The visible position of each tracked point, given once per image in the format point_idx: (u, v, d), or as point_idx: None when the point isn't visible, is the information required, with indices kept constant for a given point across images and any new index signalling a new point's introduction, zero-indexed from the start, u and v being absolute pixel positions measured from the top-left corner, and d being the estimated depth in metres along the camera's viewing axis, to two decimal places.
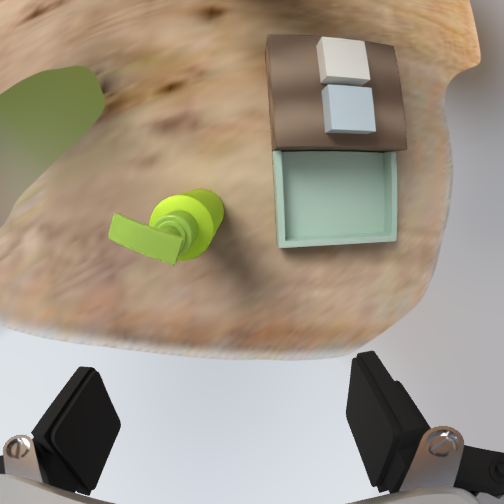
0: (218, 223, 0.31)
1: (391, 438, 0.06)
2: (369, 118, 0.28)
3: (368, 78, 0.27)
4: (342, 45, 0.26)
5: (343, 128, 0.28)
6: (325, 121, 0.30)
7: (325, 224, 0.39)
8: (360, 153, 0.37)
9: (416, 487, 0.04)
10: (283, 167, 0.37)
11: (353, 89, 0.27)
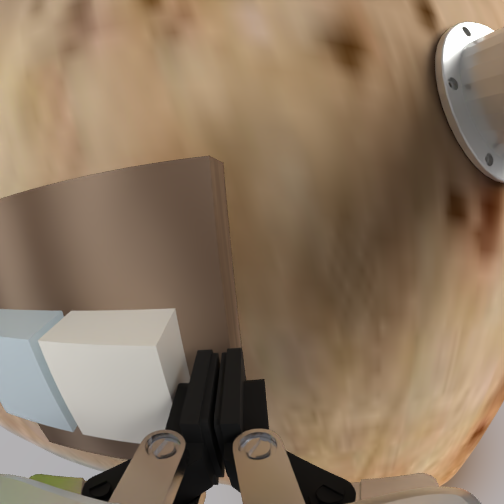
0: None
1: (215, 428, 0.07)
2: (17, 409, 0.10)
3: (83, 431, 0.10)
4: (146, 397, 0.09)
5: None
6: (5, 313, 0.11)
7: None
8: None
9: (258, 494, 0.05)
10: None
11: (47, 395, 0.09)
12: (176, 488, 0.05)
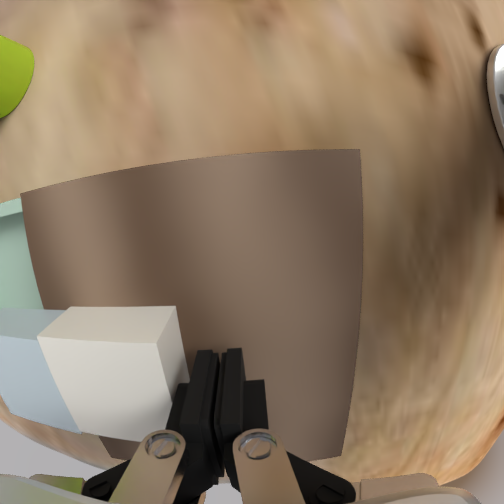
0: None
1: (215, 428, 0.07)
2: (22, 410, 0.10)
3: (81, 428, 0.10)
4: (145, 395, 0.09)
5: None
6: (11, 312, 0.11)
7: (1, 293, 0.17)
8: None
9: (258, 494, 0.05)
10: None
11: (55, 397, 0.09)
12: (176, 488, 0.05)
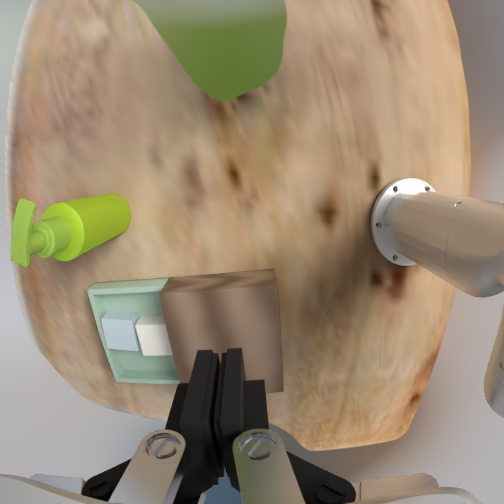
0: None
1: (215, 428, 0.07)
2: None
3: (144, 354, 0.40)
4: (165, 338, 0.39)
5: (138, 319, 0.41)
6: (124, 318, 0.39)
7: None
8: None
9: (258, 494, 0.05)
10: None
11: None
12: (176, 488, 0.05)
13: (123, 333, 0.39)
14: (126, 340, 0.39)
